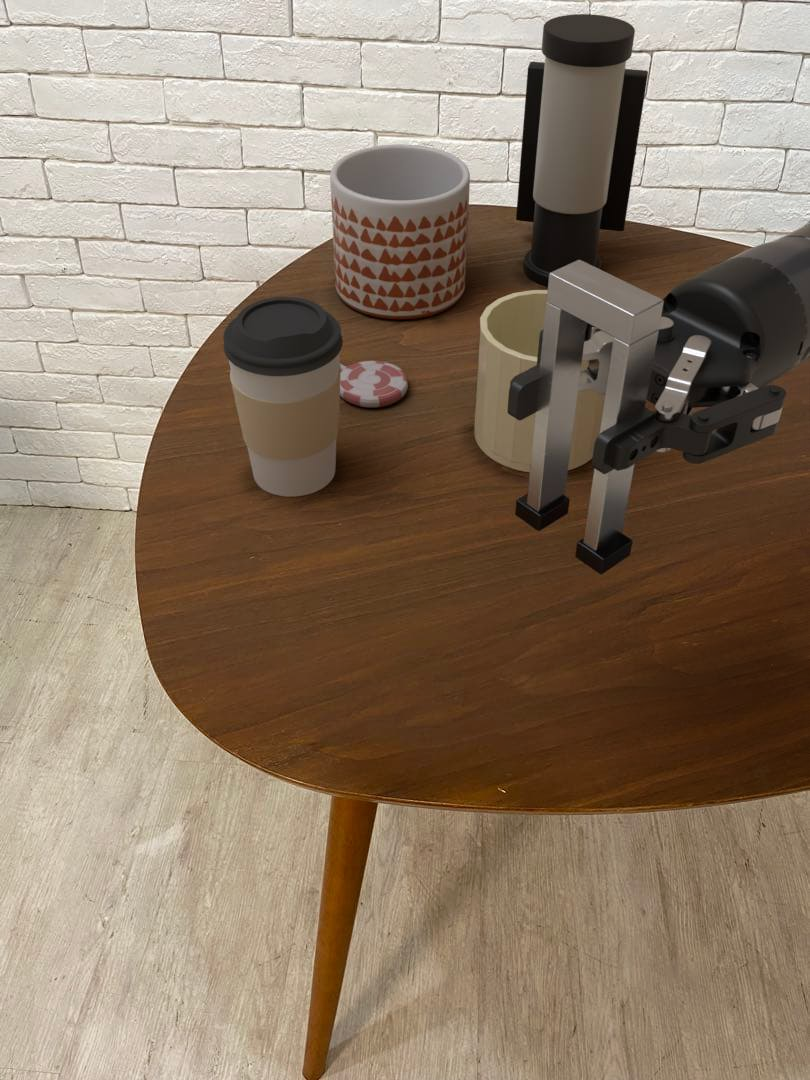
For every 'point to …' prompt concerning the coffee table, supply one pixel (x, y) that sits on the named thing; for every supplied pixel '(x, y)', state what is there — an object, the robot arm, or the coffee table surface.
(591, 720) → the coffee table surface
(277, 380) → the coffee cup
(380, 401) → the lollipop
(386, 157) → the planter
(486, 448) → the crock
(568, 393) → the tongs
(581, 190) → the light fixture
